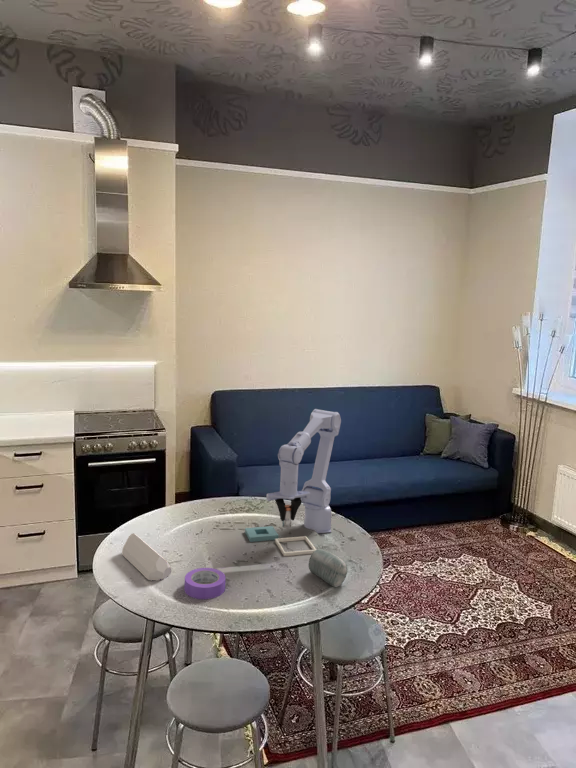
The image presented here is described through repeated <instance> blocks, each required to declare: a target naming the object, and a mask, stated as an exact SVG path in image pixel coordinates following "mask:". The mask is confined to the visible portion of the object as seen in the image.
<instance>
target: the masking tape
mask: <svg viewBox="0 0 576 768" xmlns="http://www.w3.org/2000/svg"><path fill="white" fill-rule="evenodd" d="M183 586H184V592H185V594H186V595H187V596H188V597H190V598H192V599H197V600H211V599H214V598H218V597H220V596H221V595H222V594H224V592H225V590H226V574H225V573H224V572H223V571H222V570H219V569H217V568H212V567H199V568H194V569H192V570H190V571H188V572H187V573H186V574H185V576H184V585H183Z"/></svg>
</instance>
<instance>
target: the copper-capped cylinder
mask: <svg viewBox="0 0 576 768" xmlns="http://www.w3.org/2000/svg"><path fill="white" fill-rule="evenodd" d="M281 525H282V526H281V527H282V528H284V529H289V528H290V529H291V527H292V506H291V504H285V509H284V521H281Z"/></svg>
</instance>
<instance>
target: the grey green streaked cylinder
mask: <svg viewBox="0 0 576 768" xmlns="http://www.w3.org/2000/svg"><path fill="white" fill-rule="evenodd" d="M316 549H317V550H315V551H314V552H313V553H312V554H310V557H309V560H308V569H309V571H310V573H311V574H313V575H315V576H316V577H318V578H320V579H321V580H323V581H324V582H326V583H327V584H329V585H330V586H332V587H339V586H341V585H342V584H343V583H344V581H345V580H346V578H347V574H348V566H347V564H346V562H345V561H344V560H343V559H342V558H341V557H339V556H338V555H336V554H334V553H332V552H330V551H329V550H325V549H322V548H316Z"/></svg>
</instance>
